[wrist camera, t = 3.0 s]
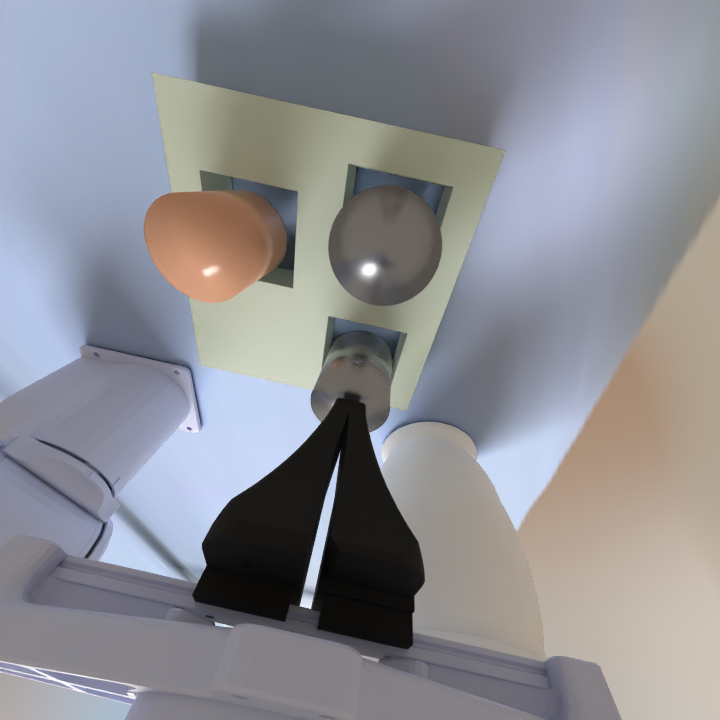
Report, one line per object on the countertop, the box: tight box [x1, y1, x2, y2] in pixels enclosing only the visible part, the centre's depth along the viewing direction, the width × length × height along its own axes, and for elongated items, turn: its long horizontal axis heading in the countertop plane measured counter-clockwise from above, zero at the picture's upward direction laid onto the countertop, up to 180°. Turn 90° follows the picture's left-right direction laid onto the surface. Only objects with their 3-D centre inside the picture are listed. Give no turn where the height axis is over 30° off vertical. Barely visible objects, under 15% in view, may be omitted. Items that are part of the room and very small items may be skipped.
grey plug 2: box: [311, 331, 392, 432], centre depth 16 cm, size 4×4×4 cm
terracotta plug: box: [144, 190, 287, 303], centre depth 13 cm, size 4×4×4 cm
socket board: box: [152, 72, 506, 411], centre depth 17 cm, size 15×15×3 cm
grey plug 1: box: [328, 185, 442, 306], centre depth 12 cm, size 4×4×4 cm
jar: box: [361, 422, 547, 662], centre depth 20 cm, size 11×10×15 cm
